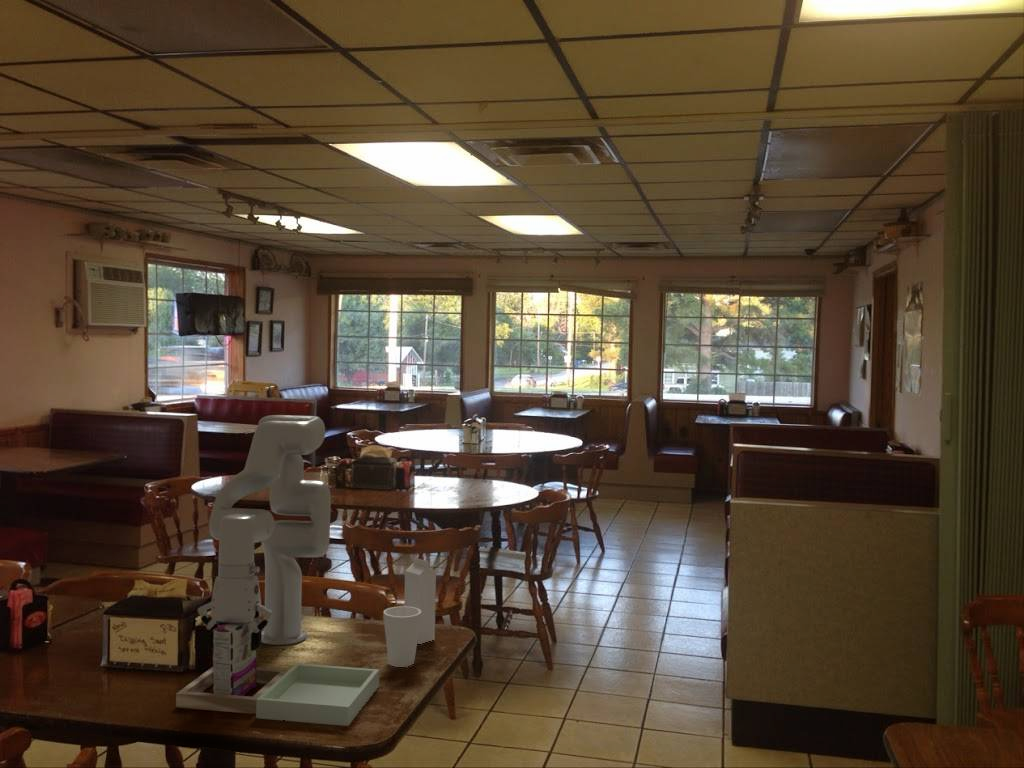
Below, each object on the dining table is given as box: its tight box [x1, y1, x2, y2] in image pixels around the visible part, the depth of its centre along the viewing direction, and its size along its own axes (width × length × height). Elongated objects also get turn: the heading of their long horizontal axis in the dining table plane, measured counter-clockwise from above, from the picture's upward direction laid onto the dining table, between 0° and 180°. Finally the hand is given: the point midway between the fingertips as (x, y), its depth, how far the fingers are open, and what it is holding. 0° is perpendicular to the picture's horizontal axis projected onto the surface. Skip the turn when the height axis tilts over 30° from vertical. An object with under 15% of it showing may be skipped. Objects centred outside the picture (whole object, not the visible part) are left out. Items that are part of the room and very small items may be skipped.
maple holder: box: [175, 666, 290, 715], centre depth 197 cm, size 18×18×3 cm
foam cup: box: [382, 605, 421, 668], centre depth 219 cm, size 10×9×13 cm
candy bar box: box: [212, 622, 257, 696], centre depth 197 cm, size 11×5×16 cm, turn 168°
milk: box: [403, 557, 437, 645], centre depth 237 cm, size 6×6×22 cm
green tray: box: [255, 663, 380, 727], centre depth 194 cm, size 22×20×4 cm
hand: (234, 647), depth 196 cm, fingers open, 9 cm apart
